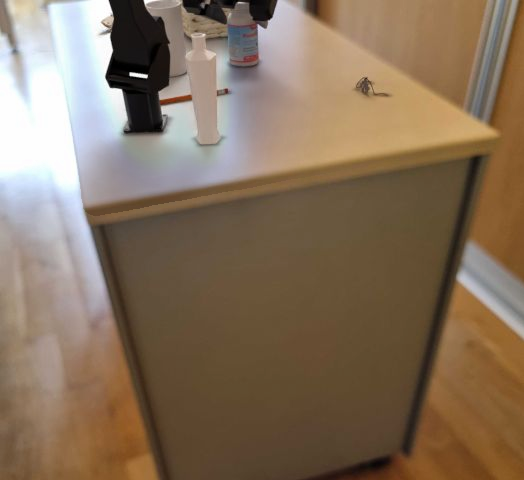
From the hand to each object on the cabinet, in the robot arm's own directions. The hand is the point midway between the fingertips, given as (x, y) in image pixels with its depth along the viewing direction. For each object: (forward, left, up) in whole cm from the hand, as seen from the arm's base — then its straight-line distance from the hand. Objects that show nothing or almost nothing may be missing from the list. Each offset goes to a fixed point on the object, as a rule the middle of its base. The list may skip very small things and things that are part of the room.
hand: (246, 24), depth 114 cm
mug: (-4, +16, -7) cm, 18 cm away
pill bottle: (-1, +1, -7) cm, 7 cm away
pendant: (-19, -23, -7) cm, 31 cm away
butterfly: (+32, +34, -7) cm, 47 cm away
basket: (+27, +11, -7) cm, 30 cm away
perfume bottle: (-39, +5, -7) cm, 40 cm away
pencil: (-22, +12, -7) cm, 26 cm away
